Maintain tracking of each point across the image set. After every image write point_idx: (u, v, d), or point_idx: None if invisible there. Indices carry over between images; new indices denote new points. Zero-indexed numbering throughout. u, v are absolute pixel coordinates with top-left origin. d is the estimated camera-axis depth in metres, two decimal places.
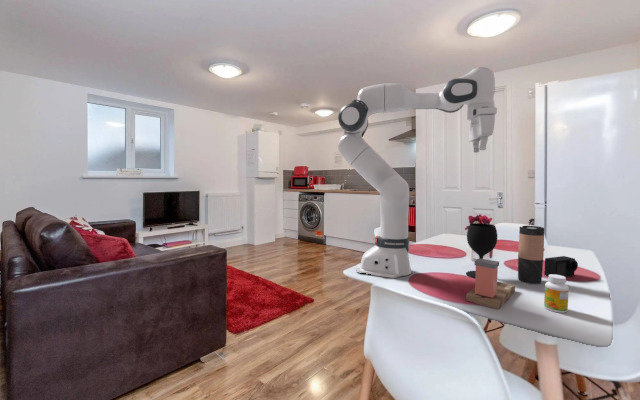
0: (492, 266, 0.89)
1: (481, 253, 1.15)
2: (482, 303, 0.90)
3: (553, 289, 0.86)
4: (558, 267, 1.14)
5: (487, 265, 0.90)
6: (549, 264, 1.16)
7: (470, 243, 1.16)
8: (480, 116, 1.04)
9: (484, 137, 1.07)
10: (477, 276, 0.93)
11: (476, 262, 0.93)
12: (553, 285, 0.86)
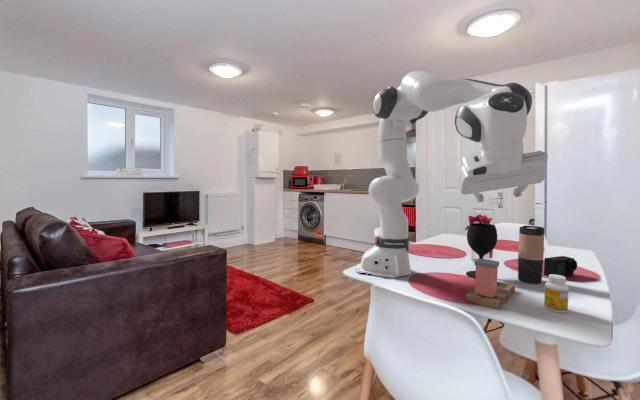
0: (492, 266, 0.89)
1: (481, 253, 1.15)
2: (482, 303, 0.90)
3: (553, 289, 0.86)
4: (558, 267, 1.15)
5: (487, 265, 0.90)
6: (548, 264, 1.16)
7: (470, 243, 1.16)
8: (461, 168, 0.82)
9: None
10: (477, 276, 0.93)
11: (476, 262, 0.93)
12: (553, 285, 0.86)
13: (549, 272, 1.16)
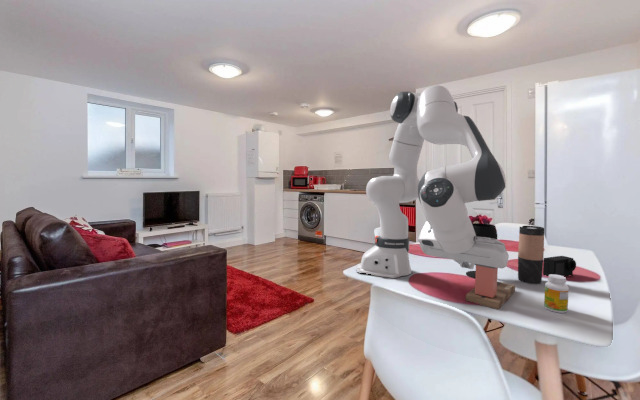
0: None
1: None
2: (482, 303, 0.90)
3: (553, 289, 0.86)
4: (557, 266, 1.15)
5: None
6: (547, 264, 1.17)
7: None
8: None
9: None
10: (477, 276, 0.93)
11: None
12: (553, 285, 0.86)
13: (548, 272, 1.17)
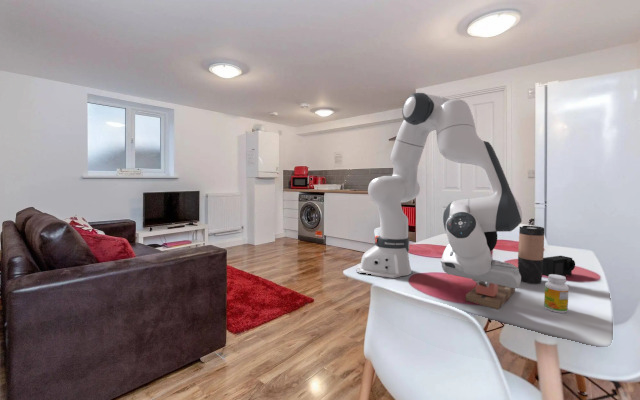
0: None
1: None
2: (482, 303, 0.90)
3: (553, 289, 0.86)
4: (556, 266, 1.15)
5: None
6: (547, 263, 1.17)
7: None
8: None
9: None
10: None
11: None
12: (553, 285, 0.86)
13: (547, 272, 1.17)
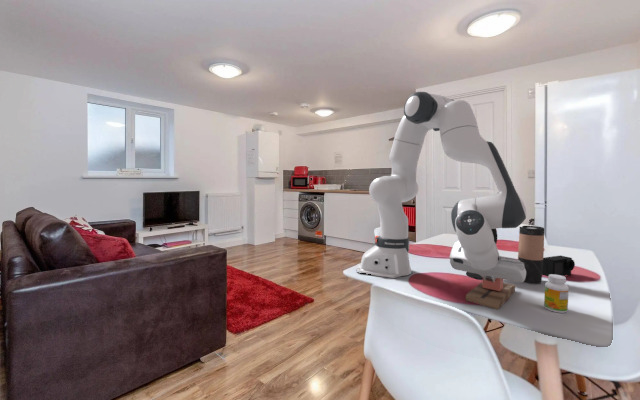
0: None
1: None
2: (482, 303, 0.90)
3: (553, 289, 0.86)
4: (556, 266, 1.15)
5: None
6: (546, 263, 1.17)
7: None
8: None
9: None
10: None
11: None
12: (553, 285, 0.86)
13: (547, 272, 1.17)
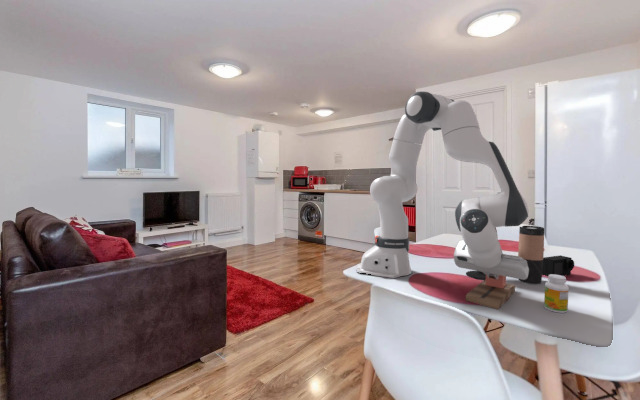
0: None
1: None
2: (482, 303, 0.90)
3: (553, 289, 0.86)
4: (555, 266, 1.15)
5: None
6: (546, 263, 1.17)
7: None
8: None
9: None
10: None
11: None
12: (553, 285, 0.86)
13: (547, 271, 1.17)
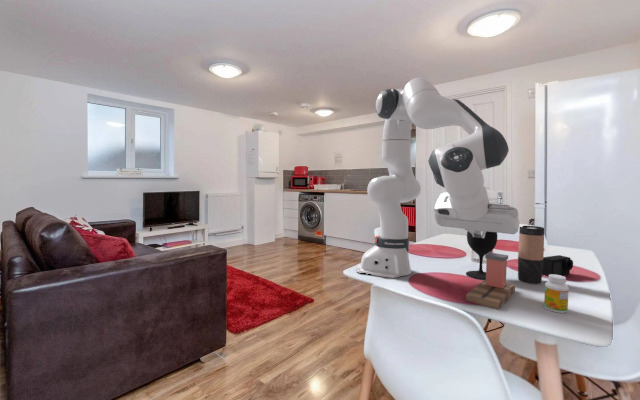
0: (502, 259, 0.97)
1: (481, 253, 1.15)
2: (482, 303, 0.90)
3: (553, 289, 0.86)
4: (554, 266, 1.16)
5: (497, 258, 0.98)
6: (545, 263, 1.17)
7: (470, 243, 1.16)
8: None
9: None
10: (488, 269, 1.00)
11: (487, 256, 1.00)
12: (553, 285, 0.86)
13: (546, 271, 1.17)
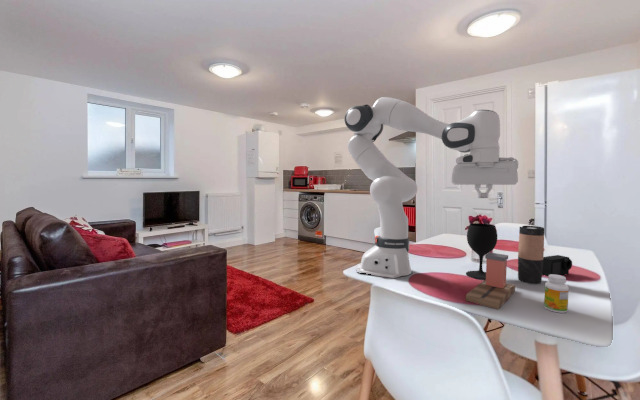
0: (502, 259, 0.97)
1: (481, 253, 1.15)
2: (482, 303, 0.90)
3: (553, 289, 0.86)
4: (554, 266, 1.16)
5: (497, 258, 0.98)
6: (544, 263, 1.18)
7: (470, 243, 1.16)
8: (455, 166, 1.08)
9: (475, 185, 1.05)
10: (488, 269, 1.00)
11: (487, 256, 1.00)
12: (553, 285, 0.86)
13: (545, 271, 1.18)
